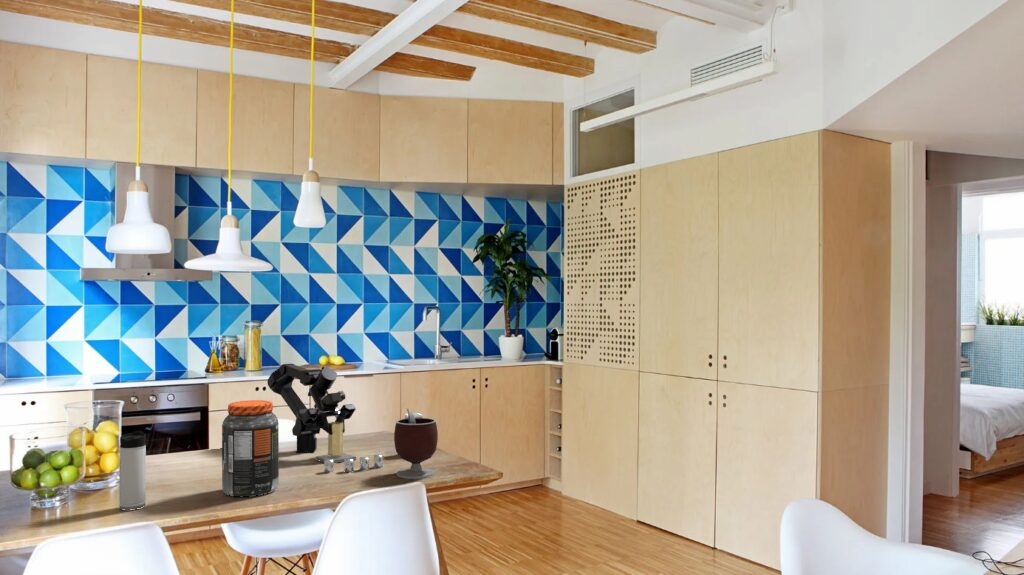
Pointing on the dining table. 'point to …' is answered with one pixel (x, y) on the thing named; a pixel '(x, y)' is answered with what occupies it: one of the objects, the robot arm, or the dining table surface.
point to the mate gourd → (415, 444)
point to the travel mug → (132, 471)
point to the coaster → (335, 457)
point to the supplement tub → (250, 449)
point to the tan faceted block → (335, 439)
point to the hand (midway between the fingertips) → (337, 433)
